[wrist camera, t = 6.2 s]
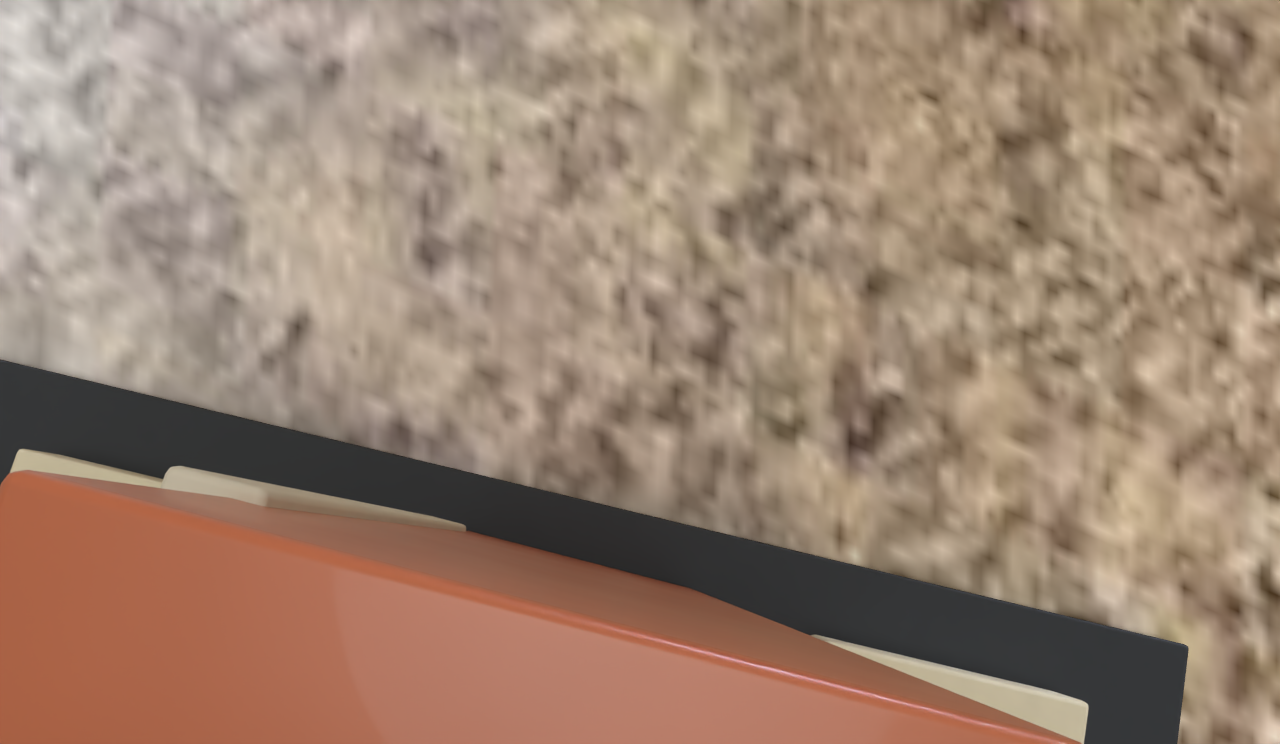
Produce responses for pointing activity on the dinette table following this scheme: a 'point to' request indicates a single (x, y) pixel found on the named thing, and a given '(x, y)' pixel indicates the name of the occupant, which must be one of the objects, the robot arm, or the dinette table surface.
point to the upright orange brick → (396, 635)
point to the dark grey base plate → (635, 555)
